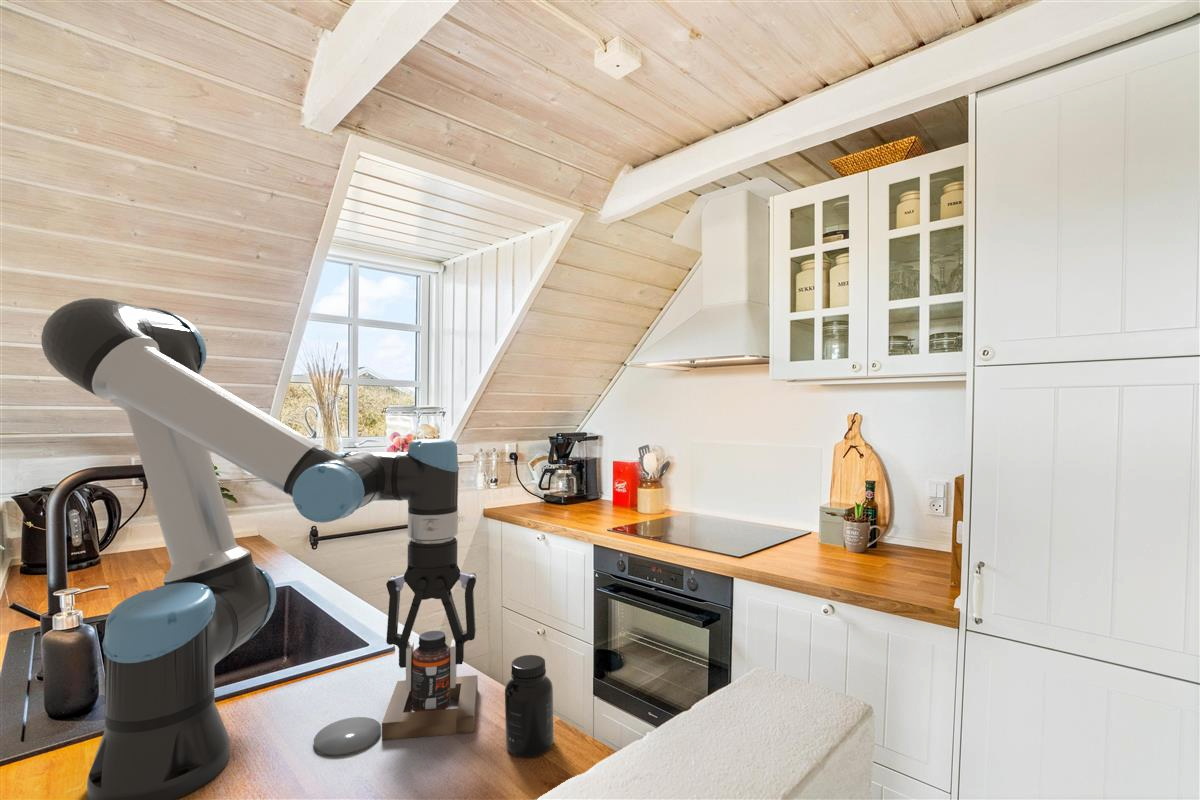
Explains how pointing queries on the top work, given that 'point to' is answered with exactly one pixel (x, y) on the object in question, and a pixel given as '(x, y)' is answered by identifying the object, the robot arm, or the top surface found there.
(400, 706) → the frame
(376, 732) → the slate coaster
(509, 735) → the supplement bottle
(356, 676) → the top surface
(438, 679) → the supplement bottle
